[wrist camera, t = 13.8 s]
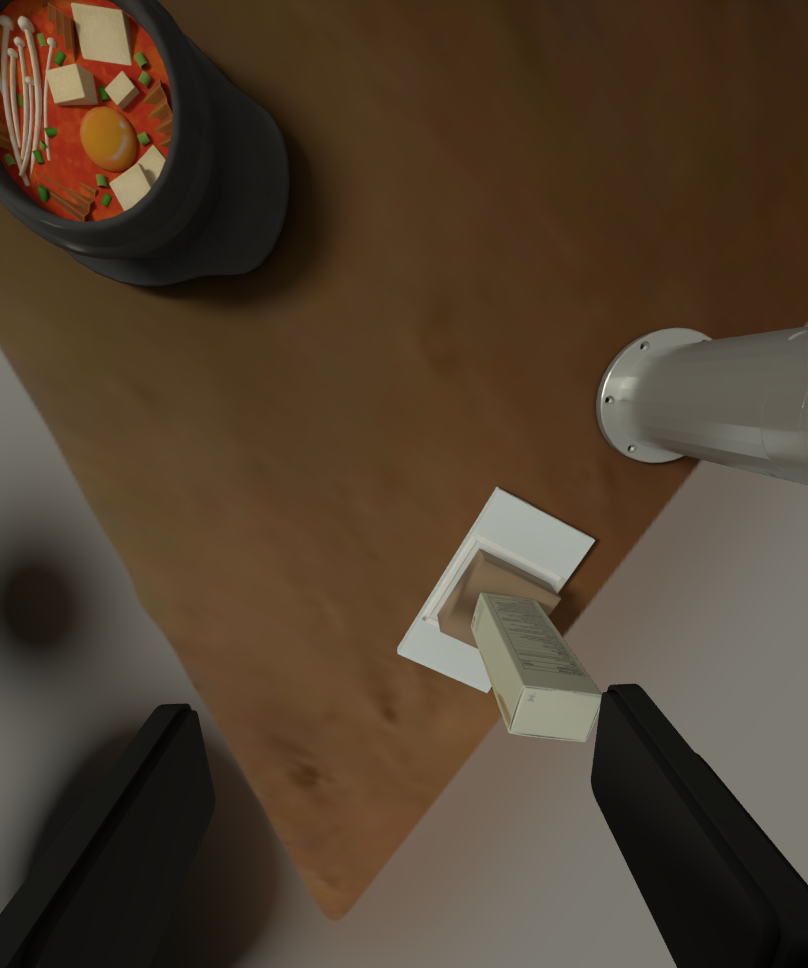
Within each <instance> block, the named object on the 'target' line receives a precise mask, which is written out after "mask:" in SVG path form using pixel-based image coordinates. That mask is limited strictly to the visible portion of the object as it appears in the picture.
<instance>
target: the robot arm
mask: <svg viewBox="0 0 808 968" xmlns="http://www.w3.org/2000/svg"><path fill="white" fill-rule="evenodd" d="M640 346H641V349H640ZM606 398H607V401H606V402H605V399H606ZM596 410H597V419H598V423H599V427H600V429H601V431H602V433H603V435H604V437H605V439H606V440H607V441H608V443H609V444H610V445H611V446H612V447H613V448H614V449H615V450H617V451H618V452H619V453H621V454H623V455H625V456H627V457H629V458H632V459H635V460H638V461H642V462H649V463H660V462H667V461H671V460H675V459H678V458H680V457H683V456H689V457H693V458H697V459H701V460H706V461H710V462H715V463H718V464H722V465H726V466H731V467H735V468H739V469H743V470H748V471H751V472H755V473H760V474H764V475H768V476H772V477H776V478H781V479H784V480H789V481H793V482H797V483H801V484H805V485H808V327H801V328H794V329H787V330H780V331H773V332H766V333H759V334H752V335H745V336H738V337H731V338H724V339H717V340H712V339H711V338H710V337H708V336H706V335H705V334H703V333H701V332H698V331H695V330H692V329H687V328H670V329H663V330H659V331H655V332H651V333H649V334H646V335H644V336H642V337H640V338H638V339H636V340H635V341H633V342H632V343H630V344H629V345H627V346H626V347H625V348H624V349H623V350H622V351H621V352H620V353H619V354H618V355H617V356H616V357H615V358H614V360H613V361H612V362H611V364H610V365H609V366H608V368H607V370H606V372H605V374H604V376H603V378H602V380H601V383H600V386H599V389H598V394H597V401H596ZM591 785H592V790H593V793H594V796H595V799H596V801H597V803H598V805H599V807H600V809H601V811H602V813H603V815H604V818H605V820H606V822H607V824H608V826H609V828H610V830H611V832H612V834H613V836H614V838H615V840H616V842H617V844H618V846H619V848H620V851H621V852H622V855H623V856H624V859H625V861H626V863H627V865H628V867H629V869H630V871H631V873H632V875H633V877H634V879H635V881H636V884H637V886H638V888H639V890H640V892H641V894H642V896H643V898H644V900H645V902H646V904H647V906H648V908H649V910H650V912H651V914H652V916H653V919H654V921H655V922H656V925H657V927H658V929H659V931H660V933H661V935H662V937H663V939H664V941H665V943H666V945H667V948H668V949H669V952H670V954H671V956H672V958H673V960H674V962H675V964H676V966H677V968H808V885H807V883H806V882H805V881H804V880H803V879H802V877H801V876H800V875H799V874H798V872H797V871H796V870H795V869H794V868H793V867H792V865H791V864H790V863H789V862H788V860H787V859H786V858H785V857H784V856H783V855H782V853H781V852H780V851H779V850H778V848H777V847H776V846H775V845H774V843H773V842H772V841H771V840H770V839H769V838H768V836H767V835H766V834H765V833H764V831H763V830H762V829H761V828H760V827H759V825H758V824H757V823H756V822H755V821H754V819H753V818H752V817H751V816H750V814H749V813H748V812H747V811H746V810H745V808H744V807H743V806H742V805H741V804H740V802H739V801H738V800H737V799H736V797H735V796H734V795H733V794H732V793H731V791H730V790H729V789H728V788H727V787H726V785H725V784H724V783H723V782H722V781H721V779H720V778H719V777H718V776H717V774H716V773H715V772H714V771H713V770H712V769H711V767H710V766H709V765H708V764H707V763H706V762H705V761H704V759H703V758H701V756H700V755H698V754H697V753H695V752H694V751H693V750H692V749H691V747H690V746H689V745H688V744H687V743H686V742H685V740H684V739H683V738H682V736H681V735H680V734H679V733H678V731H677V730H676V729H675V728H674V727H673V726H672V724H671V723H670V722H669V721H668V720H667V718H666V717H665V716H664V714H663V713H662V712H661V711H660V710H659V708H658V707H657V706H656V705H655V703H654V702H653V701H652V700H651V698H650V697H649V696H648V695H647V694H646V692H645V691H644V690H643V689H642V688H641V687H640V686H639V685H637V684H622V685H621V684H618V685H610V686H609V687H608V690H607V692H603V693H602V696H601V703H600V711H599V719H598V727H597V735H596V742H595V750H594V758H593V766H592V774H591ZM214 807H215V793H214V789H213V783H212V779H211V774H210V770H209V765H208V760H207V756H206V751H205V746H204V741H203V737H202V732H201V727H200V723H199V718H198V714H197V712H196V711H195V710H191V707H190V705H189V704H165V705H160V706H158V707H157V708H156V709H155V710H154V711H153V713H152V714H151V715H150V717H149V718H148V719H147V721H146V722H145V723H144V725H143V726H142V727H141V729H140V730H139V731H138V733H137V734H136V735H135V737H134V738H133V740H132V741H131V742H130V744H129V745H128V746H127V748H126V749H125V750H124V752H123V753H122V754H121V756H120V757H119V758H118V760H117V761H116V763H115V764H114V765H113V766H112V768H111V769H110V771H109V772H108V773H107V775H106V776H105V778H104V779H103V780H102V781H101V782H100V783H99V784H98V785H97V786H96V787H95V789H94V790H93V791H92V792H91V793H90V795H89V796H88V797H87V799H86V800H85V801H84V803H83V804H82V805H81V807H80V808H79V809H78V811H77V812H76V814H75V815H74V816H73V817H72V819H71V820H70V821H69V823H68V824H67V825H66V827H65V828H64V829H63V831H62V832H61V833H60V835H59V836H58V837H57V839H56V840H55V842H54V843H53V844H52V846H51V847H50V848H49V850H48V851H47V852H46V853H45V855H44V856H43V858H42V859H41V860H40V862H39V863H38V864H37V866H36V867H35V868H34V870H33V871H32V872H31V874H30V875H29V876H28V878H27V879H26V880H25V882H24V883H23V884H22V886H21V887H20V888H19V890H18V891H17V893H16V894H15V895H14V896H13V898H12V899H11V900H10V902H9V903H8V904H7V906H6V907H5V908H4V910H3V911H2V912H1V914H0V968H148V967H149V965H150V962H151V960H152V957H153V955H154V953H155V950H156V948H157V946H158V943H159V941H160V938H161V936H162V934H163V931H164V929H165V927H166V924H167V922H168V920H169V917H170V915H171V913H172V910H173V908H174V906H175V903H176V900H177V898H178V896H179V894H180V891H181V889H182V887H183V884H184V882H185V880H186V877H187V875H188V872H189V870H190V868H191V866H192V863H193V861H194V858H195V856H196V854H197V851H198V849H199V847H200V844H201V842H202V840H203V837H204V835H205V833H206V830H207V827H208V825H209V823H210V821H211V818H212V815H213V812H214Z"/></svg>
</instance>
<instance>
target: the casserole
mask: <svg viewBox="0 0 808 968" xmlns="http://www.w3.org/2000/svg"><path fill="white" fill-rule="evenodd" d="M289 191H290V172H289V159H288V153H287V149H286V145H285V142H284V138H283V134H282V132H281V130H280V129H279V127H278V125H277V124H276V122H275V120H274V119H273V117H272V115H271V114H270V113H269V112H268V111H267V110H265V109H264V108H263V107H262V106H261V105H259V104H258V103H257V102H256V101H254V100H253V99H252V98H251V97H249V96H248V95H247V94H245V93H244V92H243V91H241V90H240V89H239V88H237V87H236V86H235V85H233V84H232V83H231V82H229V80H228V79H227V78H226V77H225V76H224V75H223V74H222V73H221V72H220V71H219V70H218V68H217V67H216V66H215V65H214V64H213V63H212V62H211V61H210V60H209V59H208V57H207V56H206V55H205V54H204V53H203V52H202V51H201V50H200V49H199V48H198V47H197V46H196V44H195V43H194V42H193V41H192V40H191V39H190V38H188V37H187V36H186V35H184V34H183V33H182V31H181V30H180V28H179V27H178V25H177V24H176V22H175V21H174V19H173V18H172V16H171V15H170V13H169V12H168V11H167V10H166V9H165V8H164V7H163V6H162V5H161V4H160V3H159V2H158V1H157V0H0V202H2V203H3V204H4V206H5V207H6V208H7V209H8V210H9V211H10V213H12V214H13V215H14V216H15V217H16V218H17V219H19V220H20V221H21V222H22V223H23V224H24V225H25V226H27V227H28V228H29V229H30V230H31V231H33V232H34V233H36V234H37V235H39V236H41V237H42V238H44V239H46V240H47V241H49V242H50V243H52V244H54V245H56V246H58V247H60V248H63V249H64V250H65V251H66V252H68V253H69V254H70V255H71V256H72V257H73V258H74V259H75V260H77V261H78V262H80V263H82V264H83V265H85V266H86V267H88V268H90V269H91V270H93V271H94V272H96V273H98V274H100V275H103V276H105V277H108V278H110V279H113V280H115V281H118V282H120V283H126V284H131V285H136V286H142V287H151V286H167V285H171V284H175V283H179V282H183V281H187V280H190V279H194V278H198V277H202V276H218V275H237V274H246V273H248V272H250V271H252V270H253V269H255V268H257V267H259V266H260V265H261V264H262V263H263V262H264V261H265V259H266V258H267V257H268V256H269V254H270V253H271V252H272V250H273V248H274V246H275V244H276V242H277V240H278V238H279V236H280V234H281V232H282V228H283V225H284V221H285V217H286V213H287V210H288V203H289Z"/></svg>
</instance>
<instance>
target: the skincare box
mask: <svg viewBox="0 0 808 968" xmlns="http://www.w3.org/2000/svg"><path fill="white" fill-rule="evenodd" d="M471 629H472V632H473V635H474V638H475V641H476V643H477V646H478V649H479V652H480V655H481V657H482V660H483V663H484V666H485V669H486V671H487V674H488V677H489V680H490V683H491V685H492V688H493V691H494V694H495V697H496V699H497V702H498V705H499V708H500V710H501V713H502V716H503V719H504V722H505V724H506V727H507V730H508V732H509V733H511V734H517V735H524V736H531V737H539V738H549V739H558V740H568V741H569V740H570V741H580V742H586V740H587V738H588V735H589V733H590V731H591V728H592V726H593V724H594V722H595V719H596V717H597V715H598V713H599V711H600V703H601V696H602V693H601V691H600V690H599V688H598V687H597V686H596V684H595V683H594V681H593V680H592V679H591V677H590V676H589V675H588V673H587V672H586V670H585V669H584V667H583V666H582V664H581V663H580V662H579V660H578V659H577V657H576V656H575V655H574V653H573V652H572V650H571V649H570V648H569V646H568V644H567V643H566V642H565V640H564V639H563V637H562V636H561V635H560V633H559V632H558V630H557V629H556V627H555V626H554V625H553V623H552V622H551V620H550V619H549V618H548V616H547V615H546V613H545V612H544V610H543V609H542V608H541V606H540V605H539V603H538V602H537V601H536V600H531V599H525V598H519V597H513V596H506V595H499V594H491V593H483V592H481V593H480V595H479V599H478V602H477V605H476V608H475V612H474V615H473V619H472V624H471Z"/></svg>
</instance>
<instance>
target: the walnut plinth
mask: <svg viewBox="0 0 808 968" xmlns="http://www.w3.org/2000/svg"><path fill="white" fill-rule="evenodd" d="M481 592H483V593H491V594H499V595H506V596H513V597H519V598H525V599H531V600H536V601H537V602H538V603H539V605H540V606H541V608H542V609H543V610H544V612H545V613H546V615H547V616H548V617H549V615H550V614H551V612H552V611H553V610H554V608H555V607H556V605H557V604H558V603H559V601H560V600H561V598H560V596H559V595H558V594H557V592H556V591H555V590H554V589H553V587H552V586H551V585H550V583H548V582H546V581H544V580H542V579H540V578H538V577H536V576H534V575H532V574H530V573H528V572H526V571H524V570H522V569H520V568H518V567H516V566H514V565H512V564H510V563H508V562H506V561H504V560H502V559H500V558H498V557H496V556H494V555H492V554H490V553H488V552H486V551H484V550H482V549H480V548H479V549H478V550H477V552H476V554H475V555H474V557H473V558H472V560H471V562H470V563H469V565H468V566H467V568H466V569H465V571H464V573H463V574H462V576H461V577H460V579H459V581H458V582H457V584H456V585H455V587H454V588H453V590H452V592H451V593H450V595H449V596H448V598H447V600H446V601H445V603H444V604H443V606H442V608H441V609H440V611H439V612H438V614H437V617H438V622H439V628H440V632H442V633H444V634H446V635H448V636H450V637H453V638H455V639H457V640H459V641H461V642H463V643H466V644H468V645H470V646H472V647H474V648H477V649H478V646H477V643H476V641H475V638H474V635H473V632H472V629H471V624H472V619H473V615H474V612H475V608H476V605H477V602H478V599H479V595H480V593H481Z"/></svg>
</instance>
